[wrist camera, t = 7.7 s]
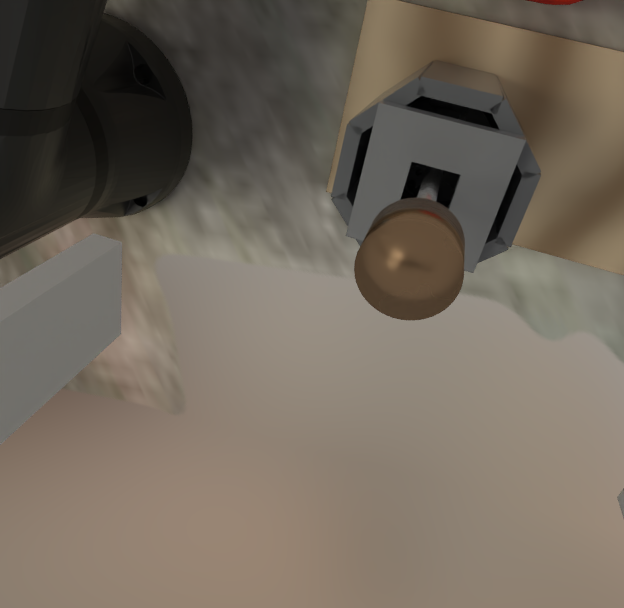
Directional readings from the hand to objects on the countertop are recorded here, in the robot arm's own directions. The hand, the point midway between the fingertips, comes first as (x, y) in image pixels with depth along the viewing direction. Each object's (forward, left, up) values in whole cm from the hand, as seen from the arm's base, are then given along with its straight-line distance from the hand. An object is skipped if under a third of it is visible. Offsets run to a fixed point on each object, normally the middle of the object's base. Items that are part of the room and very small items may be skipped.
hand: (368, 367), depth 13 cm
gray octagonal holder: (0, -1, -28) cm, 28 cm away
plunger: (0, 0, -26) cm, 26 cm away
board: (+4, +1, -29) cm, 29 cm away
